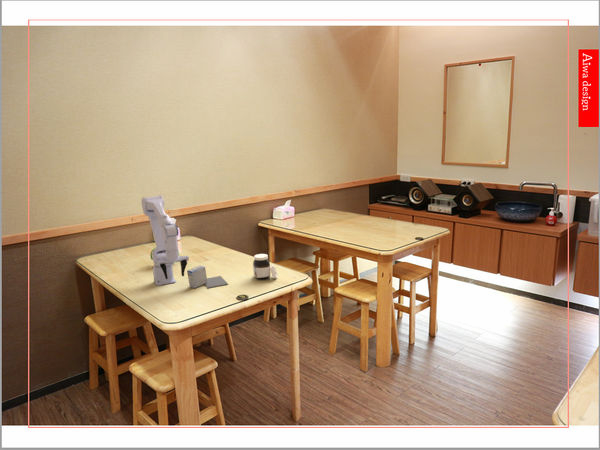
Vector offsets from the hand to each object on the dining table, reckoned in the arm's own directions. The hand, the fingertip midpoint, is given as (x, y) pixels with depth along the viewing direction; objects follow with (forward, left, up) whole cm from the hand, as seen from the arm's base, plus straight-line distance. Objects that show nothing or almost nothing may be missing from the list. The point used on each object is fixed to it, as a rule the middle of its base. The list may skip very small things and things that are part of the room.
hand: (174, 277), depth 212 cm
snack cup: (+3, +44, -7) cm, 45 cm away
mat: (+19, 0, -6) cm, 20 cm away
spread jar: (+44, -7, -7) cm, 45 cm away
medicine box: (+11, 0, -6) cm, 13 cm away
